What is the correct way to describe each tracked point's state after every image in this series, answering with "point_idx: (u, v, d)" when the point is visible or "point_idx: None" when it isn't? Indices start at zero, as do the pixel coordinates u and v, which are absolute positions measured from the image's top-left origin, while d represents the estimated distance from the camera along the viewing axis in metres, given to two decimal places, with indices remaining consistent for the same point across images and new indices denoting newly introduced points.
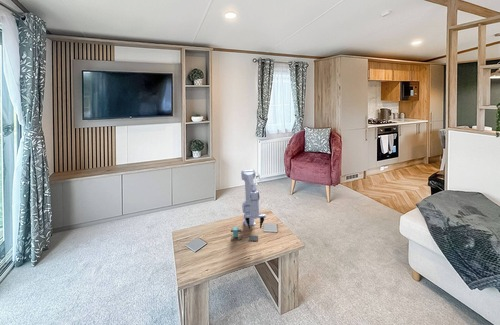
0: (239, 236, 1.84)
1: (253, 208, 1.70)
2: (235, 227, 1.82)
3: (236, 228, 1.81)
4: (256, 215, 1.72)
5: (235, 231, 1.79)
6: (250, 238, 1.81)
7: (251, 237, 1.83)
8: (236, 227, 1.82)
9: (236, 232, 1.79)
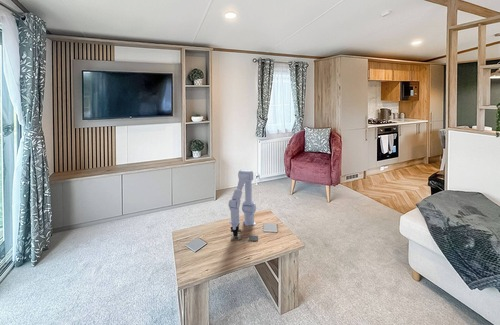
0: (239, 236, 1.84)
1: (231, 215, 1.77)
2: None
3: None
4: (231, 221, 1.79)
5: None
6: (250, 238, 1.81)
7: (251, 237, 1.83)
8: None
9: None
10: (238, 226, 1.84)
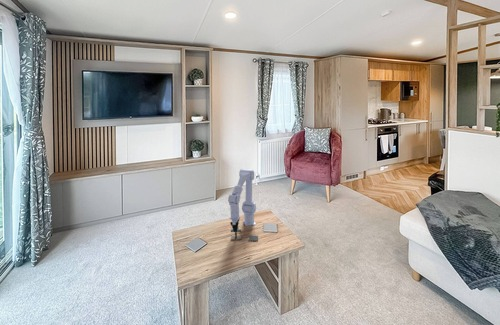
0: (239, 236, 1.84)
1: (231, 210, 1.76)
2: None
3: None
4: (231, 216, 1.78)
5: None
6: (250, 238, 1.81)
7: (251, 237, 1.83)
8: None
9: None
10: (238, 221, 1.83)
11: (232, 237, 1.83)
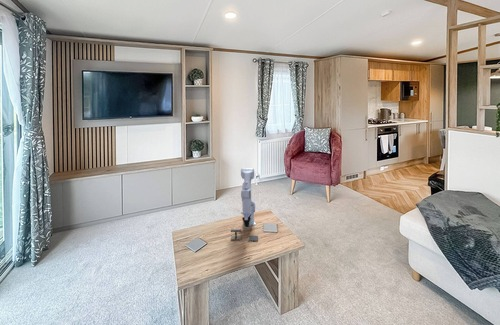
0: (239, 236, 1.84)
1: (244, 205, 1.74)
2: None
3: None
4: None
5: None
6: (250, 238, 1.81)
7: (251, 237, 1.83)
8: None
9: None
10: (249, 217, 1.81)
11: (232, 237, 1.83)
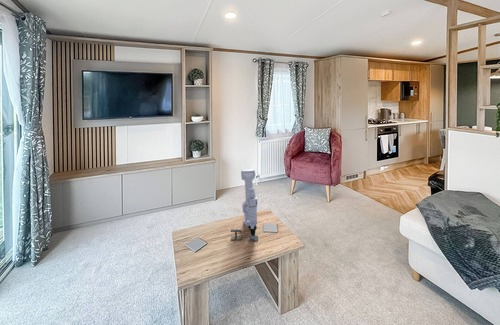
0: (239, 236, 1.84)
1: (251, 214, 1.75)
2: None
3: None
4: (248, 220, 1.78)
5: None
6: (250, 238, 1.81)
7: (251, 237, 1.83)
8: None
9: None
10: (255, 225, 1.82)
11: (232, 237, 1.83)
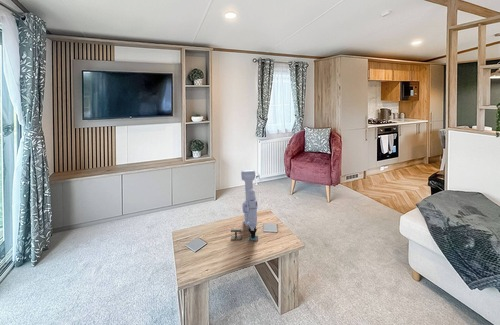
0: (239, 236, 1.84)
1: (251, 216, 1.75)
2: None
3: None
4: (248, 222, 1.78)
5: None
6: (250, 238, 1.81)
7: None
8: None
9: None
10: (255, 226, 1.84)
11: (232, 237, 1.83)
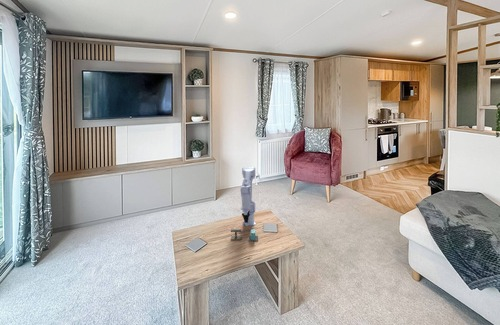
0: (239, 236, 1.84)
1: (244, 201, 1.81)
2: (252, 230, 1.81)
3: (253, 231, 1.80)
4: (242, 207, 1.84)
5: (253, 234, 1.78)
6: (250, 238, 1.81)
7: None
8: (253, 230, 1.81)
9: (254, 235, 1.78)
10: (249, 212, 1.89)
11: (232, 237, 1.83)
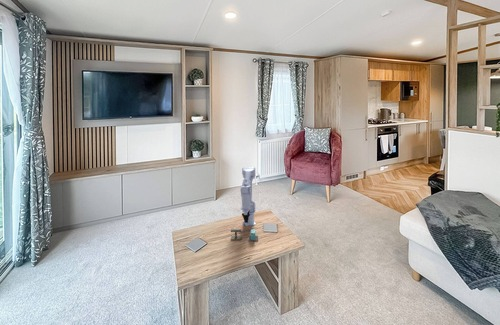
0: (239, 236, 1.84)
1: (244, 201, 1.81)
2: (252, 230, 1.81)
3: (253, 231, 1.80)
4: (242, 207, 1.84)
5: (253, 234, 1.78)
6: (250, 238, 1.81)
7: None
8: (253, 230, 1.81)
9: (254, 235, 1.78)
10: (249, 212, 1.89)
11: (232, 237, 1.83)
